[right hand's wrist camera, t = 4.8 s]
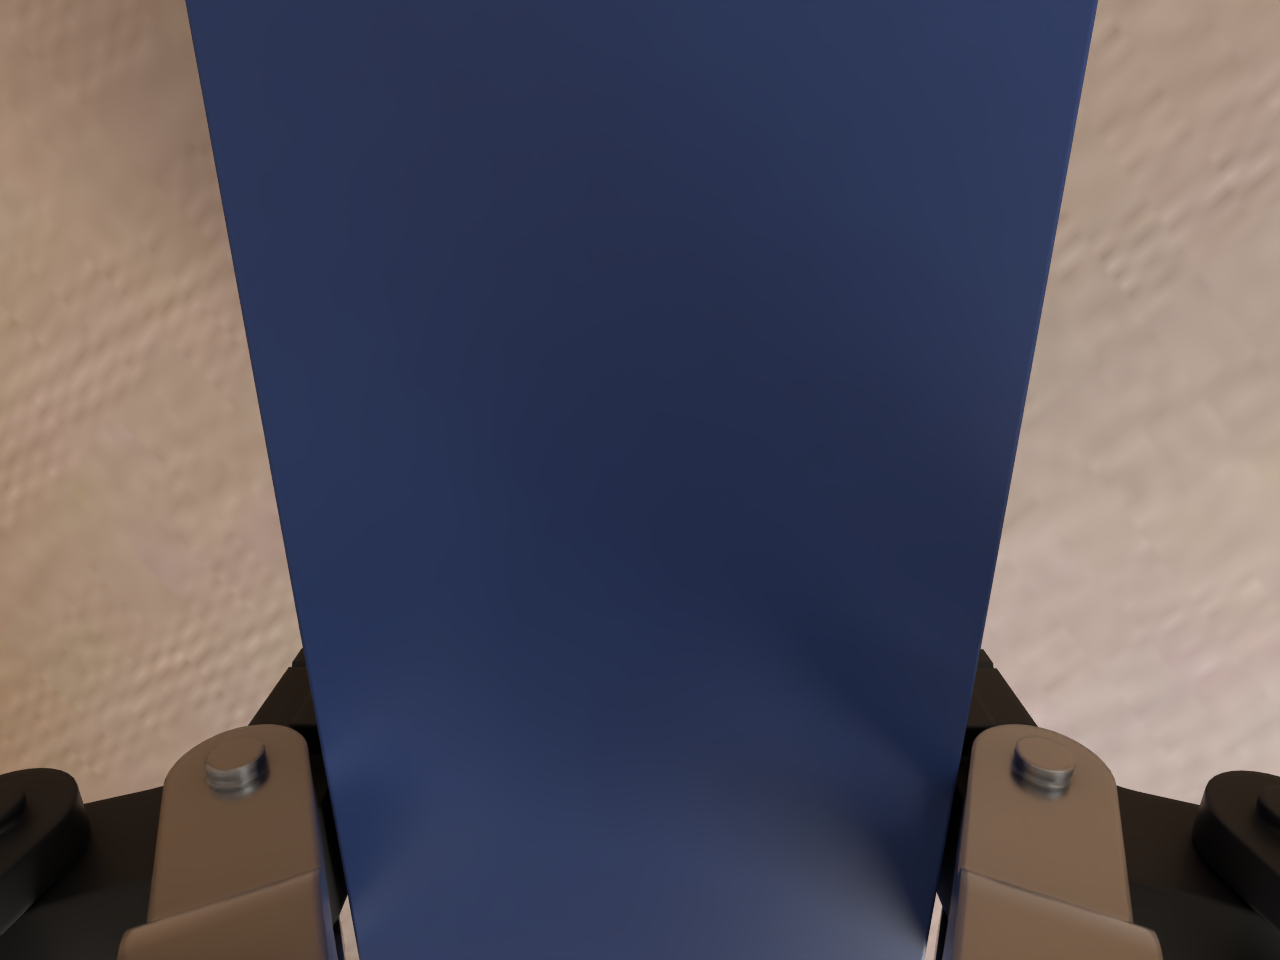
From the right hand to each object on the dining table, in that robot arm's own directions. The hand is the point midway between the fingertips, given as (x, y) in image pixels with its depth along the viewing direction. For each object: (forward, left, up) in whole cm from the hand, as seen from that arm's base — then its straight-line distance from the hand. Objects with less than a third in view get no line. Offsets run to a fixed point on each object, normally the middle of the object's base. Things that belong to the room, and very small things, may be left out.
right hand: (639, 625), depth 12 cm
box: (+7, +4, -7) cm, 10 cm away
